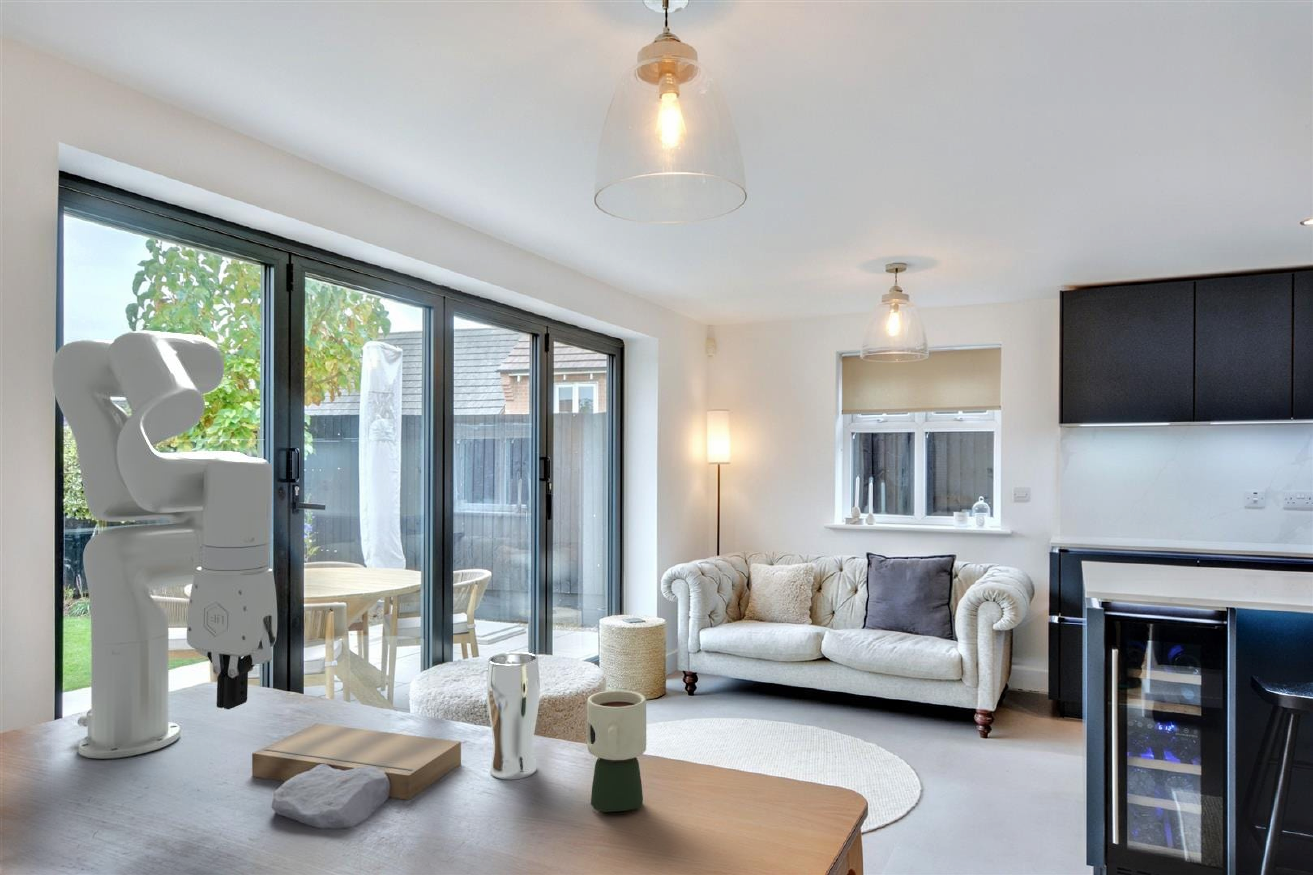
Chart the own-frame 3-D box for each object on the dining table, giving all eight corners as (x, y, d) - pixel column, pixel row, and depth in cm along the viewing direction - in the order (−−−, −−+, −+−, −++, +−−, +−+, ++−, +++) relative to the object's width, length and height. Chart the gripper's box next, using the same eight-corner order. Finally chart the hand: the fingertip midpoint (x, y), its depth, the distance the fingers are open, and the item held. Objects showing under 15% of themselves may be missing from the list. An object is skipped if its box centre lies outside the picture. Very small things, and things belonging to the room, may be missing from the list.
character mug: (593, 787, 105) (593, 684, 105) (649, 788, 105) (649, 685, 105) (580, 826, 94) (580, 712, 94) (643, 828, 94) (642, 713, 94)
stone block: (351, 848, 93) (397, 794, 103) (344, 810, 93) (392, 759, 102) (261, 840, 96) (314, 788, 106) (254, 803, 95) (308, 754, 105)
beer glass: (548, 764, 112) (548, 653, 113) (524, 784, 106) (524, 667, 106) (503, 757, 115) (503, 649, 115) (476, 777, 108) (476, 662, 108)
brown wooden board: (252, 775, 109) (252, 752, 109) (316, 744, 120) (316, 722, 120) (408, 799, 101) (408, 774, 101) (460, 763, 113) (460, 740, 113)
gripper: (162, 556, 100) (159, 705, 101) (261, 568, 96) (257, 725, 96) (213, 547, 107) (209, 687, 108) (307, 558, 103) (303, 704, 103)
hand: (232, 704), depth 102 cm, fingers closed
